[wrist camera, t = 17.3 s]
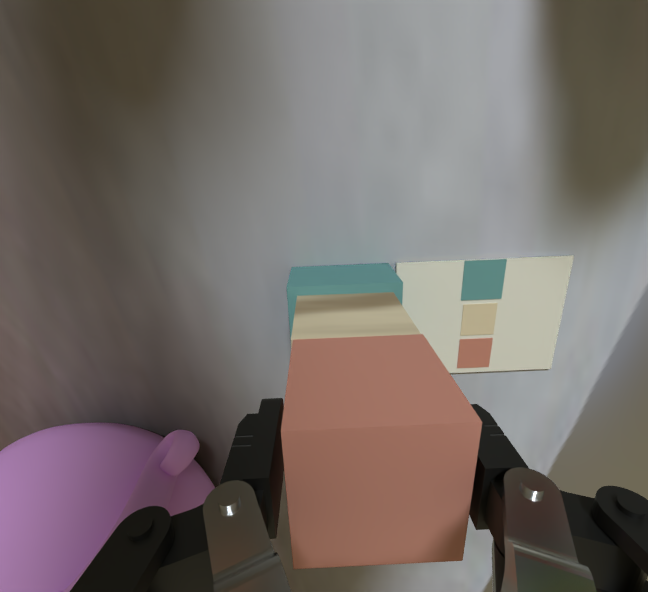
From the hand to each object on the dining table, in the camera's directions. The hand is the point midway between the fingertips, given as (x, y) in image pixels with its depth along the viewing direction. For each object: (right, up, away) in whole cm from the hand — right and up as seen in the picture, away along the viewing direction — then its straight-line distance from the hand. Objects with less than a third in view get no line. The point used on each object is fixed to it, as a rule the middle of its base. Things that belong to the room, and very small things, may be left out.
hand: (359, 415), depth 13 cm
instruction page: (+9, +3, +10) cm, 14 cm away
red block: (0, 0, +1) cm, 2 cm away
